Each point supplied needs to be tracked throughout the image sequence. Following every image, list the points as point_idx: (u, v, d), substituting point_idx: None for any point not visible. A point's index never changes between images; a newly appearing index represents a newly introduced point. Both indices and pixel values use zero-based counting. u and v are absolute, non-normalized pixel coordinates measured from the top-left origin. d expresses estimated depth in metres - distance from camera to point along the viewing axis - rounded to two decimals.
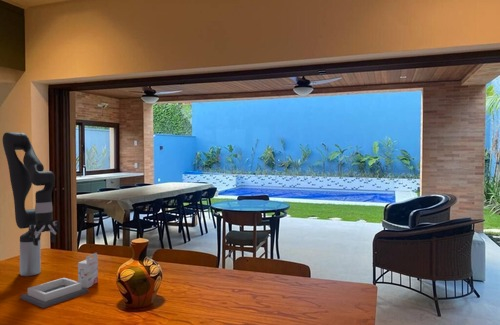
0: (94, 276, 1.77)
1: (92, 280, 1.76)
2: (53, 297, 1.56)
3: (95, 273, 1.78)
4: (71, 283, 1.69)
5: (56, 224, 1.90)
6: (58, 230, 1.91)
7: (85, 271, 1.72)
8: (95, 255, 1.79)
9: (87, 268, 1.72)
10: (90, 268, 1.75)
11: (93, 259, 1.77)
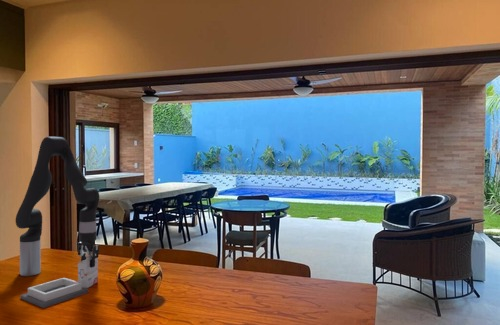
0: (94, 276, 1.77)
1: (92, 280, 1.76)
2: (53, 297, 1.56)
3: (95, 273, 1.78)
4: (71, 283, 1.69)
5: None
6: None
7: (85, 271, 1.72)
8: None
9: (86, 268, 1.72)
10: (90, 268, 1.75)
11: None
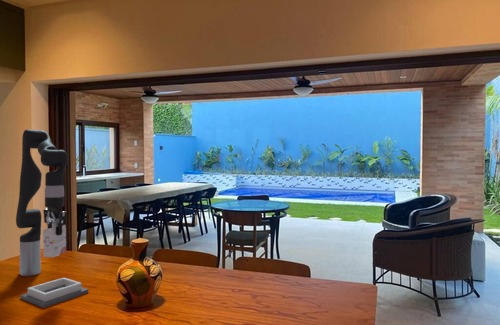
0: (61, 245, 1.64)
1: (59, 250, 1.62)
2: (53, 297, 1.56)
3: (62, 243, 1.64)
4: (71, 283, 1.69)
5: None
6: None
7: (51, 239, 1.58)
8: None
9: (52, 236, 1.58)
10: (57, 236, 1.61)
11: None
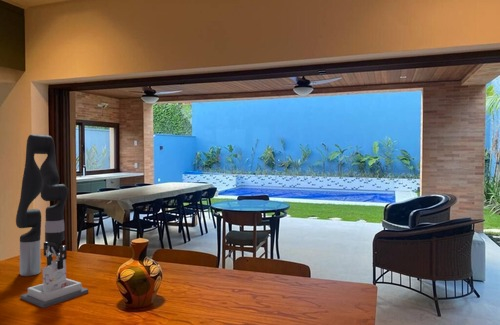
0: (61, 282, 1.64)
1: (58, 286, 1.62)
2: (53, 297, 1.56)
3: (62, 279, 1.65)
4: (71, 283, 1.69)
5: None
6: None
7: (50, 276, 1.59)
8: None
9: (52, 273, 1.59)
10: (57, 273, 1.61)
11: None
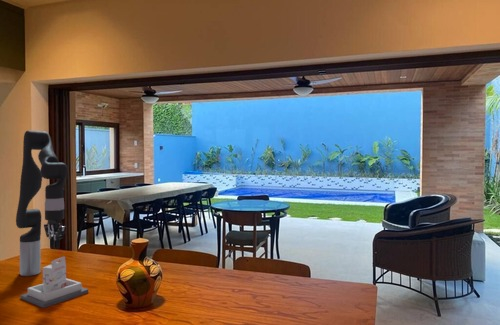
0: (61, 282, 1.64)
1: (58, 286, 1.62)
2: (53, 297, 1.56)
3: (62, 279, 1.65)
4: (71, 283, 1.69)
5: None
6: None
7: (50, 276, 1.59)
8: (63, 259, 1.65)
9: (52, 273, 1.59)
10: (57, 273, 1.61)
11: (60, 263, 1.63)
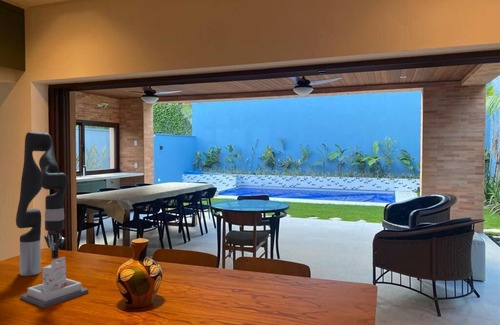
0: (61, 282, 1.64)
1: (58, 286, 1.62)
2: (53, 297, 1.56)
3: (62, 279, 1.65)
4: (71, 283, 1.69)
5: None
6: None
7: (50, 276, 1.59)
8: (63, 259, 1.65)
9: (52, 273, 1.59)
10: (57, 273, 1.61)
11: (60, 263, 1.63)
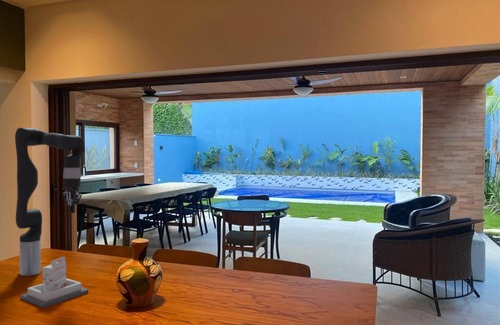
0: (61, 282, 1.64)
1: (58, 286, 1.62)
2: (53, 297, 1.56)
3: (62, 279, 1.65)
4: (71, 283, 1.69)
5: None
6: None
7: (50, 276, 1.59)
8: (63, 259, 1.65)
9: (52, 273, 1.59)
10: (57, 273, 1.61)
11: (60, 263, 1.63)
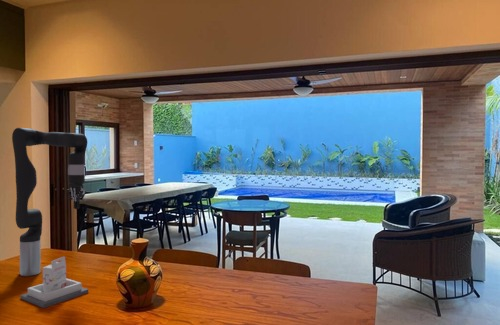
0: (61, 282, 1.64)
1: (58, 286, 1.62)
2: (53, 297, 1.56)
3: (62, 279, 1.65)
4: (71, 283, 1.69)
5: None
6: None
7: (50, 276, 1.59)
8: (63, 259, 1.65)
9: (52, 273, 1.59)
10: (57, 273, 1.61)
11: (60, 263, 1.63)
